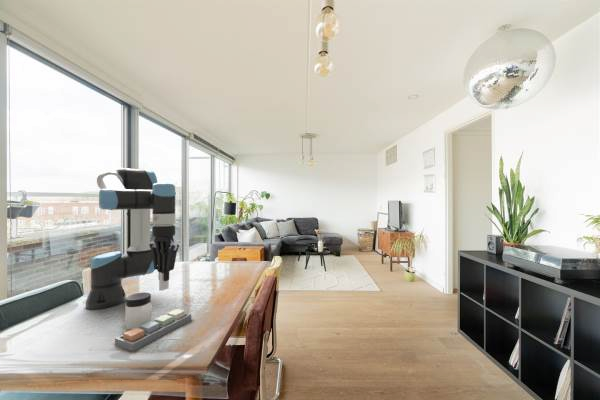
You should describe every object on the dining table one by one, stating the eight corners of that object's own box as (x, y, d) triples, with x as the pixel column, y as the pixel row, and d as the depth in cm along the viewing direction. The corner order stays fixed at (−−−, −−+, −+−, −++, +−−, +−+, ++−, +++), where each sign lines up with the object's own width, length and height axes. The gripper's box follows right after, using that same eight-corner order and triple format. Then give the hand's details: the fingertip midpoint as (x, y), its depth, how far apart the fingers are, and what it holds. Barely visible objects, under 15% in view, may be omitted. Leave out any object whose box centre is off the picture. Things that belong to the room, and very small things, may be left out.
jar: (120, 334, 92) (120, 301, 92) (129, 324, 100) (129, 293, 100) (147, 331, 94) (147, 299, 94) (154, 321, 102) (155, 291, 102)
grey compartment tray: (112, 348, 83) (112, 337, 83) (173, 319, 104) (173, 310, 104) (134, 356, 78) (134, 345, 78) (193, 324, 99) (193, 314, 99)
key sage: (154, 324, 93) (154, 319, 93) (164, 319, 96) (164, 314, 96) (162, 326, 91) (162, 321, 91) (172, 321, 95) (172, 316, 95)
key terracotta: (123, 339, 82) (123, 333, 83) (135, 333, 86) (135, 327, 86) (131, 342, 81) (131, 336, 81) (144, 336, 85) (144, 330, 85)
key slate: (139, 331, 88) (139, 325, 88) (151, 326, 91) (151, 320, 91) (147, 334, 86) (147, 328, 86) (159, 328, 90) (159, 322, 90)
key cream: (167, 318, 98) (167, 313, 98) (176, 314, 101) (177, 308, 101) (175, 320, 96) (175, 315, 96) (184, 315, 100) (184, 310, 100)
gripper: (142, 225, 93) (142, 290, 93) (167, 226, 88) (167, 295, 88) (160, 224, 100) (160, 284, 100) (185, 224, 95) (185, 288, 94)
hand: (163, 289), depth 94 cm, fingers closed
